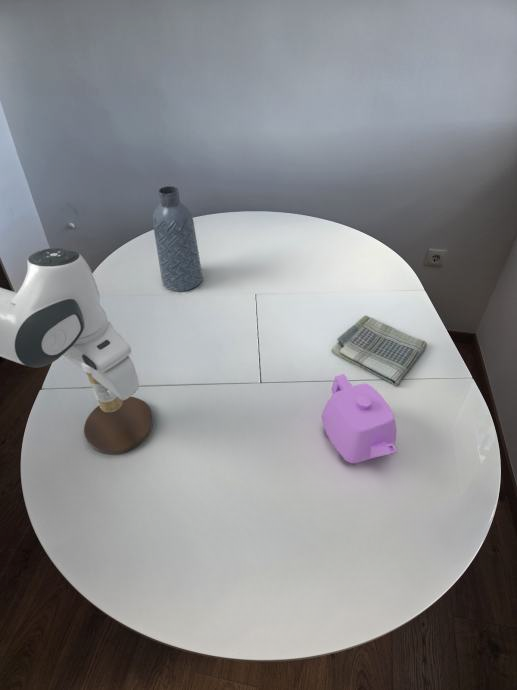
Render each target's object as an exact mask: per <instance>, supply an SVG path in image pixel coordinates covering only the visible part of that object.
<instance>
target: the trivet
mask: <svg viewBox="0 0 517 690" xmlns="http://www.w3.org/2000/svg"><path fill="white" fill-rule="evenodd" d="M153 426H154V416H153V413H152V410H151V408H150V406H149V404H148V403H146V401H144V400H142V399H140V398H137V397H133V396H131V397H129V398H128V399H126V400H123V402H122V406H121V407H120V408H119V409H118V410H116V411H114V412H104V411H103V410H101V408H100V404H99V405H98V406H96V407H95V408H94V409H93V410H92V411H91V412H90V413H89V415H88V416H87V418H86V420H85V423H84V427H83V433H84V437H85V440H86V442H87V443H88V445H89V446H90V448H92V449H93V450H94V451H96V452H97V453H100V454H104V455H109V456H110V455H111V456H113V455H114V456H115V455H121V454H125V453H128V452H130V451H132V450H134V449H136V448H138V447H139V446H140V445H142V444H143V443H144V442H145V441H146V439H148V437H149V436H150V434H151V432H152V430H153Z"/></svg>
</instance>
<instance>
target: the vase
mask: <svg viewBox="0 0 517 690" xmlns="http://www.w3.org/2000/svg"><path fill="white" fill-rule="evenodd" d="M157 193H158V198H159V204H158V205H157V206H156V208H155V210H154V211H153V216H152V225H153V226H152V227H153V231H154V232H153V233H154V239H155V240H154V241H155V246H156V253H157V259H158V264H159V271H160V272H159V273H160V278H161V282H162V284H163V286H164V287H165V288H166V289H168V290H169V291H173V292H187V291H190V290H193V289H195V288H196V287H198V286H200V284H201V283H202V281H203V269H202V265H201V259H200V252H199V247H198V240H197V235H196V233H197V232H196V228H195V222H194V218H193V214H192V212H191V210H190V208H189V207H188V206H187V205H186V204H184V203H183V202H182V201H181V199H180V193H179V189H178V188H177V187H176V186H173V185H168V186H167V185H166V186H163V187H160V188H159V189H158V192H157Z"/></svg>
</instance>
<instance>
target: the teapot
mask: <svg viewBox="0 0 517 690" xmlns="http://www.w3.org/2000/svg"><path fill="white" fill-rule="evenodd" d="M330 390H331V392H332V395H331V396H330V398H329V399H328V400H327V402H326V403H325V405H324V407H323V410H322V414H321V421H322V426H323V428H324V429H323V430H324V431H325V433H326V436H327V438H328V439H329V441H330V442H331V445H332V447H334V449H335V450H336V452H338V454H340V456H341V457H342V458H343V460H344V461H346V463H347V462H348V463H349V464H359V463H362V462H365V461H370V460H371V459H374V458H379V457H384V456H388V455H392V454H394V453H397V452H398V449H397V448H396V446H395V444H396V441H397V425H396V424H397V423H396V418H395V415H394V412H393V410H392V409H391V407H390V405H389V404H388V403H387V401H386V399H385V398H384V397H383V395H381V394H380V393H379V392H378V391H377V390H376V389H375V388H374V387H373V386H372V385H370V384H369V383H364V382H363V383H360V384H356V385H352V384H351V382H350V380H349V379H348V378H347V376H346V374H345V373H343V374H339V375H335V377H334V379H333V382H332V385H331V389H330Z"/></svg>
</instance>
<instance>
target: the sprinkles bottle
mask: <svg viewBox="0 0 517 690" xmlns="http://www.w3.org/2000/svg"><path fill="white" fill-rule="evenodd" d="M81 363H82V362H81ZM82 366H83V369H84V370H85V371H86V373H87V375H88V376H87V375H86V376H87V378H88V381H89V383H90V386H91V389H92V391H93V393H94V395H95V399H97V402H98V404H99V405H100V408H101V410H103V411H104V412H114V411H116V410H118V409H119V408H120V407H121V406H122V402H123V400H121V399H120V398H118V397H116V398H114V399H112V398H111V397H110V396H108V395H107V392H106V389H107V388H105V387H104V386H103V385H101V384H100V383H99V382H98V381H96V380H95V379H94V378H93V377H92V376H91V375H92V372H91V370H90V367H89V366H88V365H86V364H84V363H82Z"/></svg>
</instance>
